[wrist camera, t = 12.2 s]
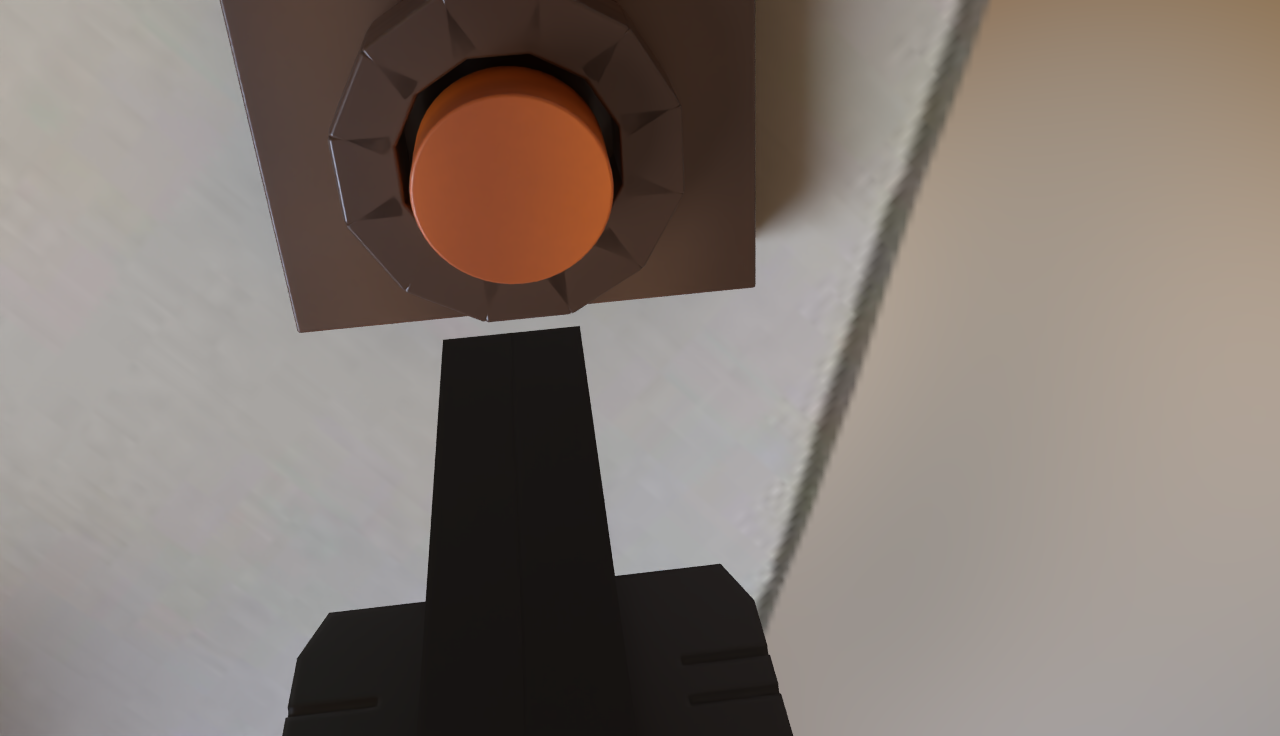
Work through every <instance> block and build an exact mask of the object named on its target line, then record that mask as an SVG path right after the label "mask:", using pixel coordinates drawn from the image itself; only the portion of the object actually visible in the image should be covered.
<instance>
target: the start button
mask: <svg viewBox="0 0 1280 736" xmlns="http://www.w3.org/2000/svg"><path fill="white" fill-rule="evenodd" d="M409 193H410V202H411V207H412V211H413V215H414V217H415V220H416V222H417V225H418V227H419V229H420V231H421V232H422V234H423V236H424V238H425V239H426V240H427V242H428V243H429V244H430V246H431V247H432V248H433V249H434V250H435V251H436V252H437V253H438V254H439V255H440V256H441V257H442V258H443V259H444V260H446V261H447V262H448V263H449V264H451V265H452V266H454V267H455V268H457V269H459V270H460V271H462V272H464V273H466V274H468V275H471V276H473V277H476V278H479V279H482V280H485V281H490V282H495V283H503V284H524V283H530V282H536V281H540V280H543V279H547V278H550V277H552V276H554V275H557V274H559V273H561V272H563V271H564V270H566V269H568V268H570V267H571V266H573V265H574V264H575V263H577V262H578V261H579V260H581V259H582V258H583V257H584V256H585V255H586V254H587V253H588V252H589V251H590V250H591V248H592V247H593V246H594V245H595V244H596V242H597V241H598V239H599V238H600V236H601V234H602V233H603V231H604V229H605V227H606V224H607V222H608V220H609V216H610V213H611V209H612V204H613V196H614V182H613V175H612V169H611V165H610V161H609V158H608V154H607V150H606V146H605V142H604V138H603V135H602V131H601V128H600V126H599V124H598V121H597V119H596V117H595V115H594V114H593V112H592V110H591V109H590V107H589V106H588V105H587V103H586V102H585V101H584V100H583V98H582V97H581V96H580V95H579V94H578V93H577V92H575V91H574V90H573V89H572V88H571V87H570V86H568V85H567V84H565V83H564V82H563V81H561V80H559V79H557V78H555V77H554V76H552V75H549V74H547V73H544V72H542V71H539V70H535V69H531V68H527V67H519V66H498V67H491V68H486V69H482V70H479V71H475V72H473V73H471V74H468V75H466V76H464V77H462V78H460V79H459V80H457V81H455V82H454V83H452V84H451V85H450V86H448V87H447V88H446V89H445V90H443V91H442V92H441V93H440V94H439V95H438V97H437V98H436V99H435V100H434V101H433V102H432V104H431V105H430V107H429V108H428V109H427V111H426V113H425V115H424V117H423V119H422V121H421V123H420V126H419V129H418V132H417V136H416V141H415V147H414V153H413V159H412V166H411V172H410V183H409Z"/></svg>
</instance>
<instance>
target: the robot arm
mask: <svg viewBox="0 0 1280 736" xmlns="http://www.w3.org/2000/svg"><path fill="white" fill-rule="evenodd" d="M282 736H793V734H792V730H791V727H790V723H789V720H788V716H787V713H786V709H785V706H784V702H783V699H782V695H781V694H780V693H779V688H778V681H777V678H776V674H775V671H774V667H773V664H772V661H771V657H770V655H768V649H767V643H766V640H765V636H764V633H763V629H762V626H761V622H760V619H759V615H758V612H757V608H756V605H755V601H754V600H753V598H752V597H751V596H750V595H749V594H748V593H747V592H746V591H745V590H744V589H743V588H742V587H741V585H740V584H739V583H738V582H737V581H736V580H735V579H734V578H733V577H732V576H731V575H730V574H729V573H728V571H727V570H726V569H725V568H724V567H723V566H722V565H721V564H715V565H706V566H697V567H689V568H680V569H672V570H663V571H654V572H646V573H637V574H629V575H620V576H615V573H614V566H613V559H612V552H611V545H610V538H609V531H608V524H607V517H606V510H605V502H604V495H603V488H602V481H601V474H600V467H599V460H598V453H597V446H596V439H595V432H594V424H593V417H592V410H591V403H590V396H589V389H588V382H587V375H586V368H585V361H584V353H583V346H582V339H581V332H580V326H576V327H566V328H556V329H547V330H537V331H527V332H517V333H507V334H497V335H487V336H477V337H467V338H457V339H448V340H443V350H442V365H441V380H440V395H439V410H438V425H437V440H436V455H435V470H434V485H433V500H432V515H431V530H430V545H429V560H428V575H427V590H426V602H419V603H410V604H401V605H393V606H384V607H376V608H367V609H359V610H350V611H341V612H333V613H329V614H328V615H327V617H326V618H325V620H324V621H323V622H322V624H321V625H320V627H319V628H318V630H317V631H316V632H315V634H314V635H313V637H312V638H311V639H310V641H309V642H308V644H307V645H306V647H305V648H304V649H303V651H302V652H301V654H300V655H299V657H298V658H297V662H296V668H295V673H294V678H293V683H292V688H291V694H290V699H289V704H288V718H286V719H285V725H284V730H283V735H282Z"/></svg>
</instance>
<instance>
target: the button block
mask: <svg viewBox="0 0 1280 736" xmlns="http://www.w3.org/2000/svg"><path fill="white" fill-rule="evenodd" d="M220 4H221V8H222V12H223V16H224V21H225V25H226V29H227V33H228V38H229V42H230V46H231V50H232V55H233V59H234V63H235V67H236V72H237V76H238V80H239V84H240V89H241V93H242V97H243V101H244V106H245V110H246V114H247V118H248V123H249V127H250V131H251V135H252V140H253V144H254V148H255V152H256V157H257V161H258V165H259V169H260V174H261V178H262V182H263V186H264V190H265V195H266V199H267V203H268V207H269V212H270V216H271V220H272V224H273V229H274V233H275V237H276V241H277V246H278V250H279V254H280V258H281V263H282V267H283V271H284V275H285V280H286V284H287V288H288V292H289V297H290V301H291V305H292V309H293V314H294V318H295V322H296V326H297V330H298V332H299V333H303V332H313V331H323V330H333V329H343V328H353V327H363V326H373V325H383V324H393V323H403V322H413V321H423V320H433V319H443V318H453V317H463V316H470V317H473V318H476V319H478V320H481V321H487V322H495V321H505V320H515V319H525V318H535V317H545V316H555V315H565V314H570V313H571V312H572V313H574V312H576V311H577V310H579V309H580V308H582V307H584V306H585V305H587V304H592V303H602V302H612V301H622V300H632V299H642V298H652V297H662V296H672V295H682V294H692V293H702V292H712V291H722V290H732V289H742V288H752V287H755V0H220ZM498 66H519V67H527V68H531V69H535V70H539V71H542V72H544V73H547V74H549V75H552V76H554V77H555V78H557V79H559V80H561V81H563V82H564V83H565V84H567V85H568V86H570V87H571V88H572V89H573V90H574V91H575V92H577V93H578V94H579V95H580V96H581V97H582V98H583V100H584V101H585V102H586V103H587V105H588V106H589V107H590V109H591V110H592V112H593V114H594V115H595V117H596V119H597V121H598V124H599V126H600V128H601V131H602V135H603V138H604V142H605V146H606V150H607V154H608V158H609V161H610V165H611V169H612V175H613V182H614V196H613V204H612V209H611V213H610V216H609V220H608V222H607V224H606V227H605V229H604V231H603V233H602V234H601V236H600V238H599V239H598V241H597V242H596V244H595V245H594V246H593V247H592V248H591V250H590V251H589V252H588V253H587V254H586V255H585V256H584V257H583V258H582V259H581V260H579V261H578V262H577V263H575V264H574V265H573V266H571V267H570V268H568V269H566V270H564V271H563V272H561V273H559V274H557V275H554V276H552V277H550V278H547V279H543V280H540V281H536V282H530V283H524V284H503V283H495V282H490V281H485V280H482V279H479V278H476V277H473V276H471V275H468V274H466V273H464V272H462V271H460V270H459V269H457V268H455V267H454V266H452V265H451V264H449V263H448V262H447V261H446V260H444V259H443V258H442V257H441V256H440V255H439V254H438V253H437V252H436V251H435V250H434V249H433V248H432V247H431V246H430V244H429V243H428V242H427V240H426V239H425V238H424V236H423V234H422V232H421V231H420V229H419V227H418V225H417V222H416V220H415V217H414V215H413V211H412V207H411V202H410V193H409V183H410V172H411V166H412V159H413V153H414V147H415V141H416V136H417V132H418V129H419V126H420V123H421V121H422V119H423V117H424V115H425V113H426V111H427V109H428V108H429V107H430V105H431V104H432V102H433V101H434V100H435V99H436V98H437V97H438V95H439V94H440V93H441V92H442V91H443V90H445V89H446V88H447V87H448V86H450V85H451V84H452V83H454V82H455V81H457V80H459V79H460V78H462V77H464V76H466V75H468V74H471V73H473V72H475V71H479V70H482V69H486V68H491V67H498Z"/></svg>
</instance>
